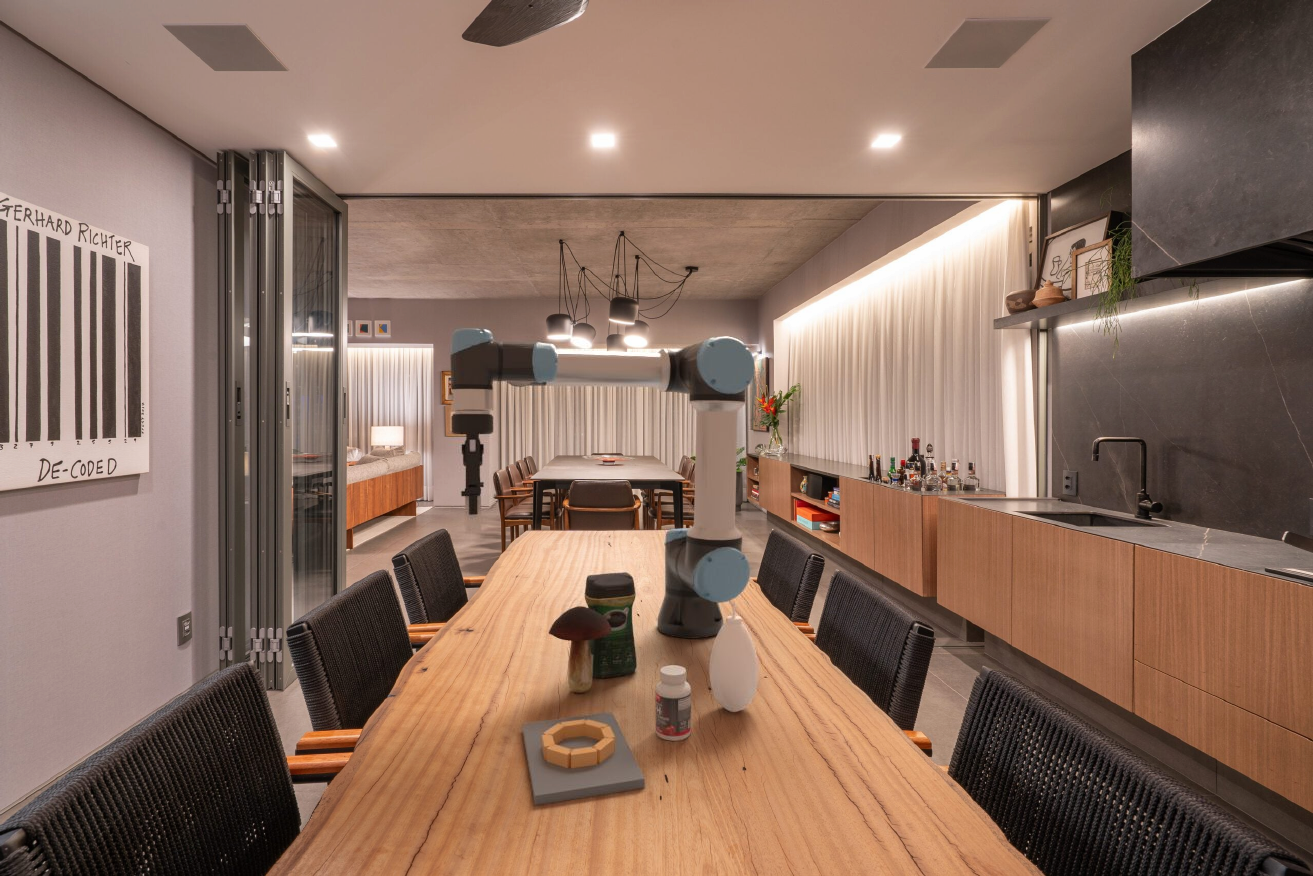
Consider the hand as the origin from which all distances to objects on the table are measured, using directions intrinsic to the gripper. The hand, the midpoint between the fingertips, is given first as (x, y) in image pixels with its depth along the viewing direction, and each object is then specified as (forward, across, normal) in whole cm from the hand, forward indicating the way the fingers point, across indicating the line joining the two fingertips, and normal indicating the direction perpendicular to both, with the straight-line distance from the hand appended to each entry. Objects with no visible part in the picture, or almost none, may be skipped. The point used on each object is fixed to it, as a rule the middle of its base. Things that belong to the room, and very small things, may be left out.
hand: (473, 526), depth 121 cm
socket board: (+28, +36, +14) cm, 47 cm away
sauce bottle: (+28, +27, +41) cm, 57 cm away
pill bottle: (+28, +32, +29) cm, 52 cm away
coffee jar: (+28, +5, +25) cm, 38 cm away
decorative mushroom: (+28, +13, +18) cm, 36 cm away
